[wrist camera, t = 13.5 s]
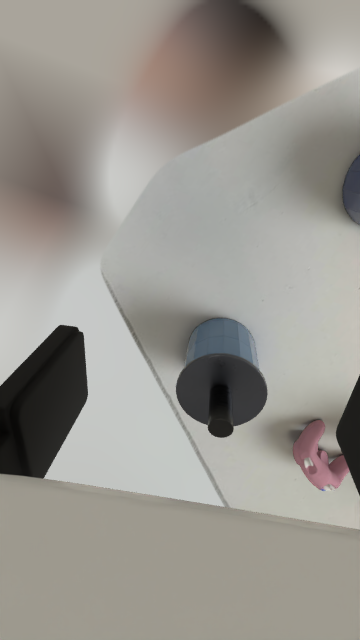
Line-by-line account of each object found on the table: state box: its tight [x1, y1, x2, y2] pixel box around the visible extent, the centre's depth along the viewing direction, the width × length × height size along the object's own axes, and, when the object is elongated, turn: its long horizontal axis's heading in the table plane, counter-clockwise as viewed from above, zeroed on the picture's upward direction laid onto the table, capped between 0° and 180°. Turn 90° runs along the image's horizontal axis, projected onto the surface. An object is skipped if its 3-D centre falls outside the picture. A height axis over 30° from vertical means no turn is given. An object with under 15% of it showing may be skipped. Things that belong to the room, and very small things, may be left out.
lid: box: [176, 353, 267, 438], centre depth 32 cm, size 10×10×6 cm
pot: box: [184, 318, 259, 369], centre depth 39 cm, size 9×9×9 cm
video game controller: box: [293, 420, 349, 491], centre depth 46 cm, size 10×5×7 cm, turn 39°
